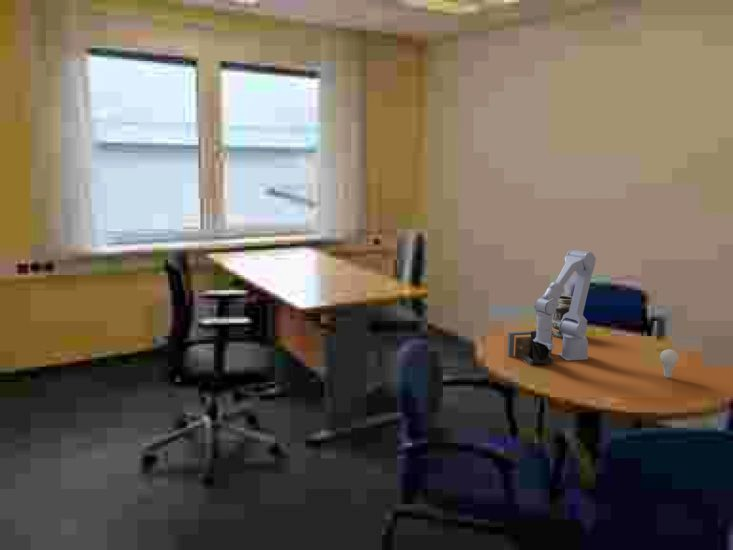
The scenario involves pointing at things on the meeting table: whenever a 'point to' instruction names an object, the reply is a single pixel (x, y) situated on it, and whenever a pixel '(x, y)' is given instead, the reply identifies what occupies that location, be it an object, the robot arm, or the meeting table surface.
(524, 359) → the keeper
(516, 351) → the door
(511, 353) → the grey picture frame
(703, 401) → the meeting table surface
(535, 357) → the phone stand
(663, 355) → the lightbulb
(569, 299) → the apothecary jar
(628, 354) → the meeting table surface
